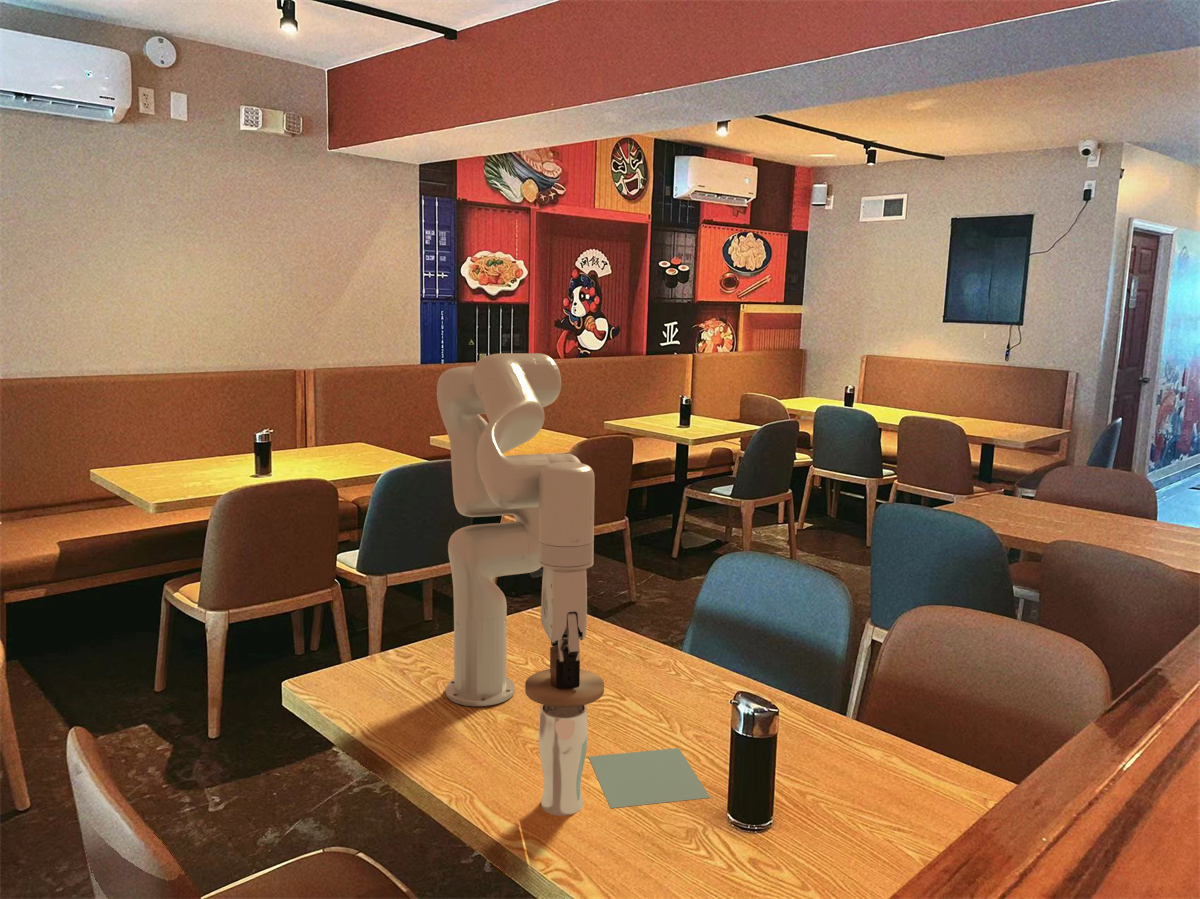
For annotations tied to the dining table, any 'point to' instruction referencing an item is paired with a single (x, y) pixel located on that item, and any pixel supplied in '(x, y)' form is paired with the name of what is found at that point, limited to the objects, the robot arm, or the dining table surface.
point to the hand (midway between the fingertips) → (564, 679)
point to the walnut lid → (546, 692)
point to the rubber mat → (647, 778)
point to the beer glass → (562, 757)
